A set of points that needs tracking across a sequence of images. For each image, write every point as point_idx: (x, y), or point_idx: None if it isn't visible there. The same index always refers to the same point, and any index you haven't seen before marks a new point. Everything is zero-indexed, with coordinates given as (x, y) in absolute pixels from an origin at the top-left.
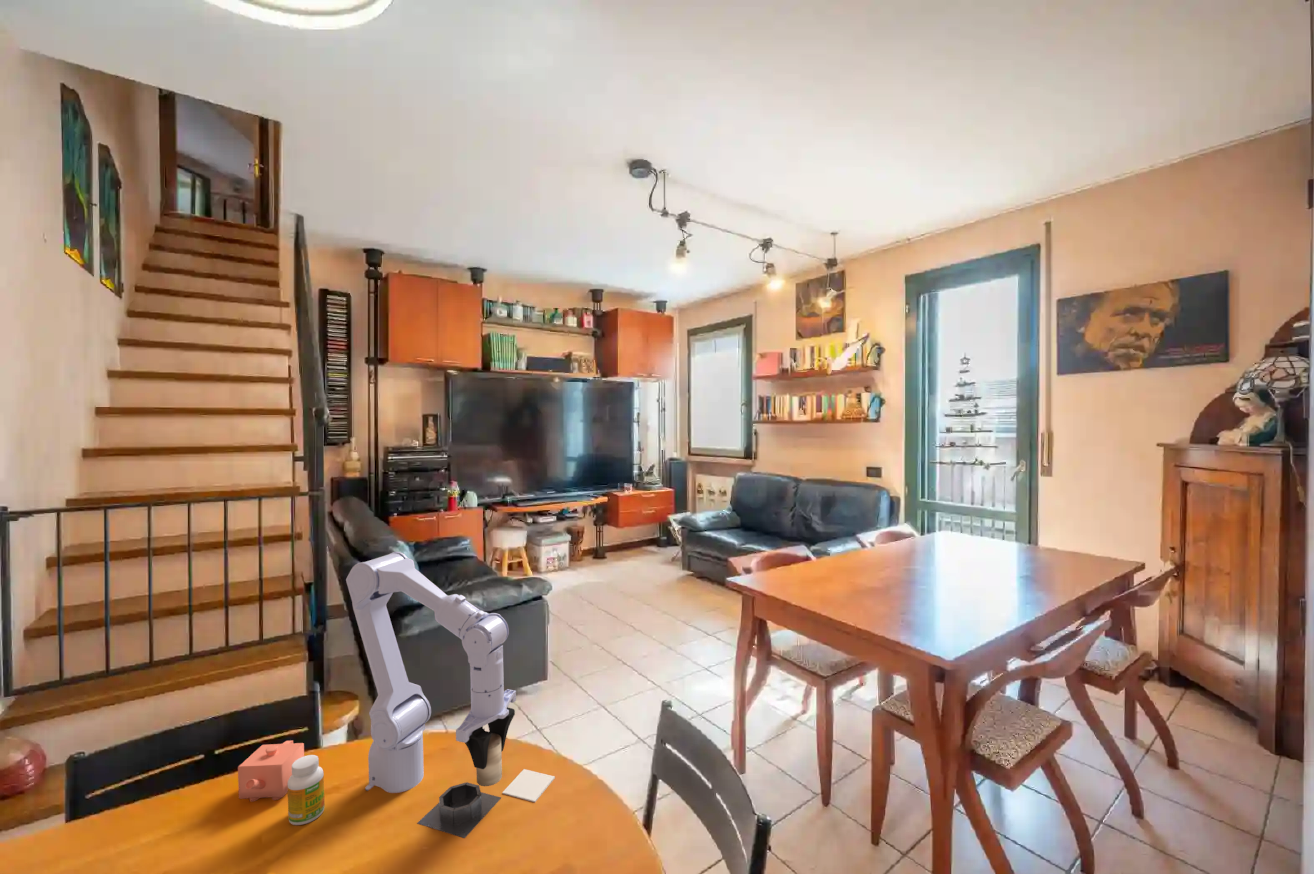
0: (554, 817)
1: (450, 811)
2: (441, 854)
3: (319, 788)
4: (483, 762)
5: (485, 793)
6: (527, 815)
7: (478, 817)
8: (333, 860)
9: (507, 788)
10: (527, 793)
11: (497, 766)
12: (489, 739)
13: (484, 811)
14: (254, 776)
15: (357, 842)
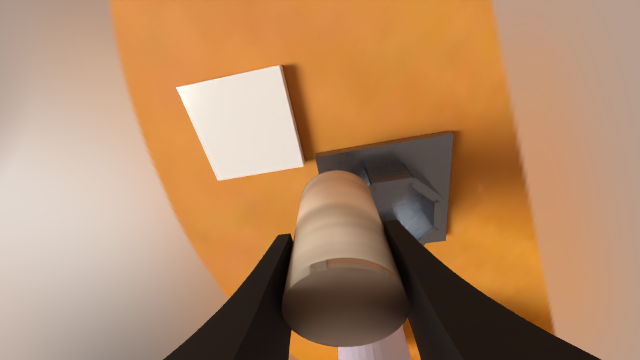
0: None
1: (441, 204)
2: (490, 147)
3: None
4: (412, 236)
5: None
6: (316, 59)
7: (389, 154)
8: (535, 277)
9: (287, 165)
10: (271, 108)
11: (341, 196)
12: (458, 331)
13: (368, 157)
14: None
15: (495, 278)
